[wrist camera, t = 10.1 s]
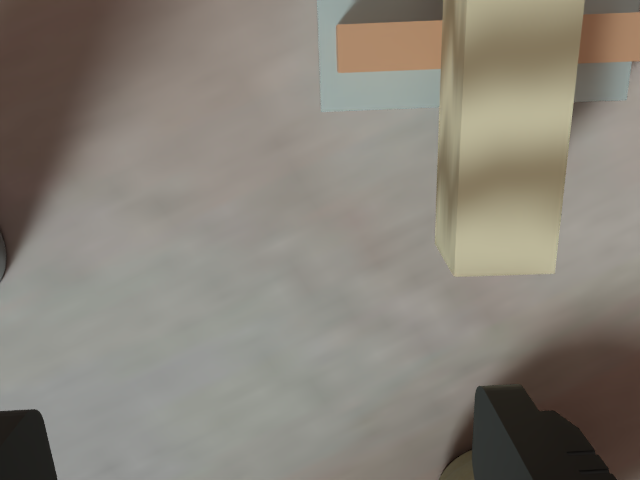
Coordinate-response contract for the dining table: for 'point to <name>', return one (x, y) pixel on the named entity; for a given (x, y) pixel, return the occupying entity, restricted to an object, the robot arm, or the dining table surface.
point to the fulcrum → (425, 52)
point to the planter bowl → (459, 468)
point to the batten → (504, 132)
